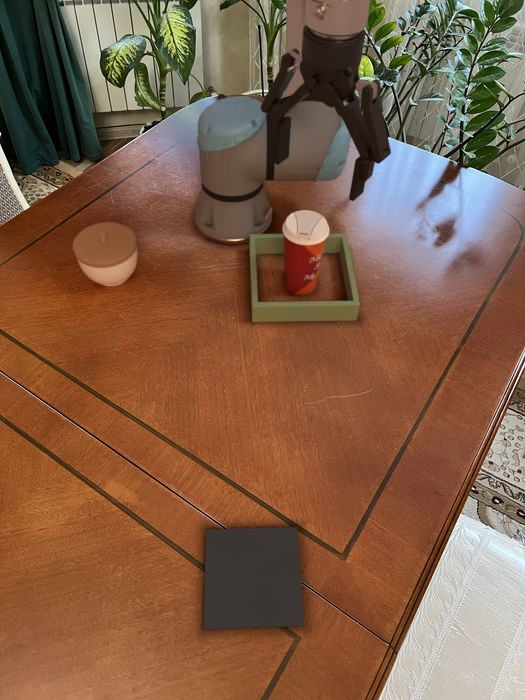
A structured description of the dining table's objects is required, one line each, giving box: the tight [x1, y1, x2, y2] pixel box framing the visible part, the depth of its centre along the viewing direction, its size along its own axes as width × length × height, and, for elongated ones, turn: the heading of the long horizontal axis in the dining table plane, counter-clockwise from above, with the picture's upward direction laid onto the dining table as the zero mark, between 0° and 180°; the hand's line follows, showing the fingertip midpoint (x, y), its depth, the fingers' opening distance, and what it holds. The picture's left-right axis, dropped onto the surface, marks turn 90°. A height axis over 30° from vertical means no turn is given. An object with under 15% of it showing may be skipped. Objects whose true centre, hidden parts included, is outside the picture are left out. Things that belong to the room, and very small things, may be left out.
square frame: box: [249, 232, 361, 323], centre depth 102 cm, size 18×18×4 cm
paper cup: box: [281, 209, 330, 296], centre depth 98 cm, size 8×8×14 cm
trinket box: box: [72, 221, 139, 287], centre depth 100 cm, size 11×11×9 cm
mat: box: [202, 526, 305, 631], centre depth 72 cm, size 12×12×1 cm
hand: (317, 177), depth 85 cm, fingers open, 13 cm apart
